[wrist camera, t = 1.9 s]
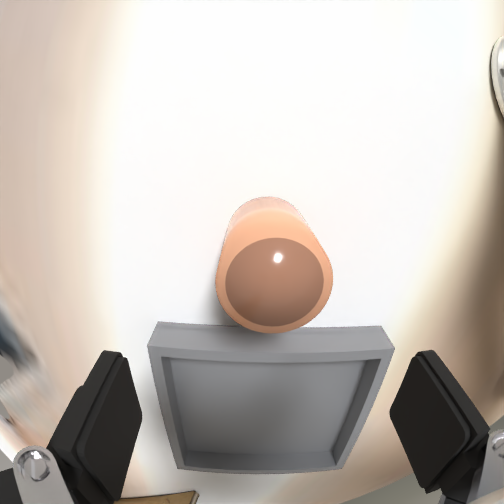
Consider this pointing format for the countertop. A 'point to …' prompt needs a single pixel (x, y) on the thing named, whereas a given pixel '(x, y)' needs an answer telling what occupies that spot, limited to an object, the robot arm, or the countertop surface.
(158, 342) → the grey square tray
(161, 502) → the picture frame
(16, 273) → the countertop surface
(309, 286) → the terracotta cup
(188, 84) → the countertop surface
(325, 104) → the countertop surface
